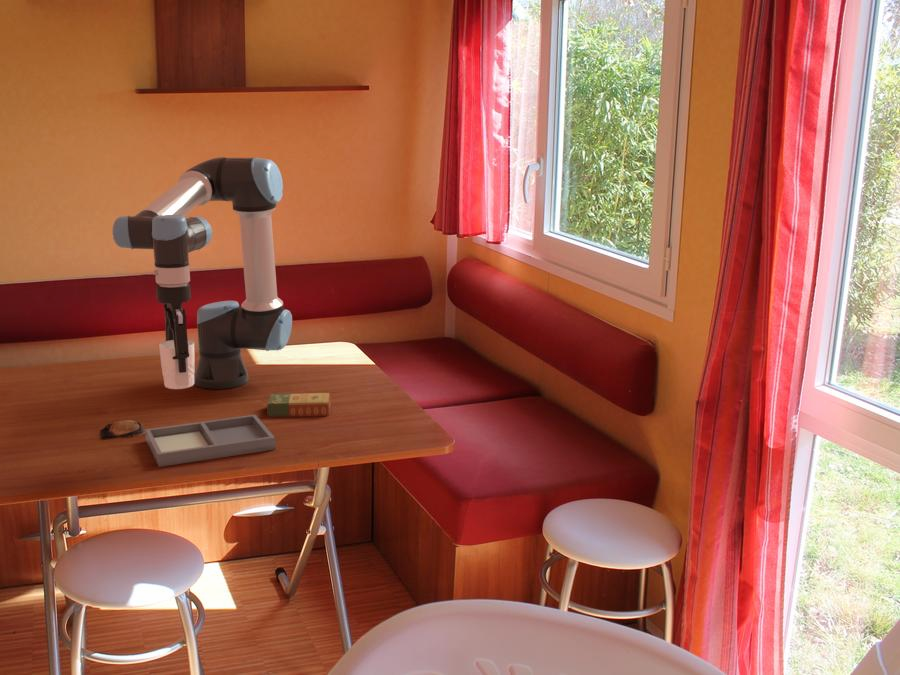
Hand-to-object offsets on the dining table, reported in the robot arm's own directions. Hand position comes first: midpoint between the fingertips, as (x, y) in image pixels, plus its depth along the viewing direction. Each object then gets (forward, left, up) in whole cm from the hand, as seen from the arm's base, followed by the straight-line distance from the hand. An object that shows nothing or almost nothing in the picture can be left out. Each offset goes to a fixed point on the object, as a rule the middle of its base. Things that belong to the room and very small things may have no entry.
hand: (179, 380), depth 230 cm
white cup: (0, 0, -1) cm, 1 cm away
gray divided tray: (0, +6, -17) cm, 18 cm away
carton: (-16, +33, -18) cm, 41 cm away
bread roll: (-18, -11, -18) cm, 28 cm away
